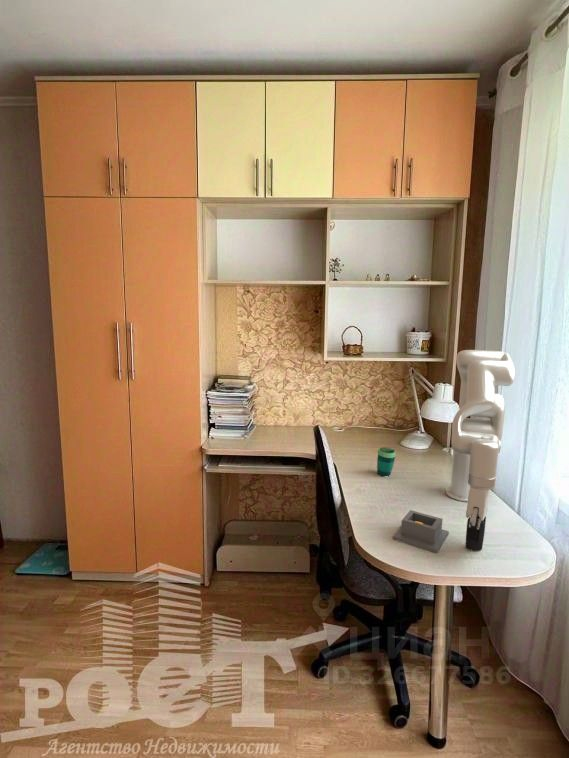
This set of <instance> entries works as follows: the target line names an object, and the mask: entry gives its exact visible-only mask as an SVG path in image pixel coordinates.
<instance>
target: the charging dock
mask: <svg viewBox="0 0 569 758" xmlns="http://www.w3.org/2000/svg"><path fill="white" fill-rule="evenodd" d="M449 534H450V531H449V530H446V529H443V518H441V517H437V516H434V515H431V514H427V513H424V512H419V511H415V510H412V509H410V510H409V511H408V512H407V513H406V515H405V516H404V517H403V518H402V519H401V525H400V527H399V528H398V530H397V531H396V532H395V533H394V534H393V536H392V540H395V541H397V540H398V542H400V541H401V543H403V544H407V545H409V546H414V547H416V548H420V549H422V550H425V551H429V552H432V553H435V554H438V552H439V551H440V549H441V548H442V546H443V545H444V543H445V541H446V540H447V538H448V536H449Z"/></svg>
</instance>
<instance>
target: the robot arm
mask: <svg viewBox="0 0 569 758" xmlns="http://www.w3.org/2000/svg"><path fill="white" fill-rule="evenodd" d="M456 366H457V370H458V372H459V376H460V390H459V401H458V403H459V404H458V408H459V410H458V411H457V412H456V413H455V415H454V417H453V420H452V425H451V440H450V441H451V449H452V451H453V452H452V464H451V475H450V476H451V477H450V486H449V487H447V488H446V489H445V494H446V495H447V496H448V497H449V498H452V499H454V500H457V501H460V502H467V506H466V512H465V517H466V518H467V519H468V518H470V517H471V518H470V523H469V527H468V539H470V540H473V541H477V542H479V538H480V529H479V527H480V522H481V521H483V520H484V522H485V524H486V521H487V516H486V515H487V513H488V509H489V504H490V499H491V498H490V497H491V490H494V489H496V478H497V469H498V461H499V460H498V458H499V457H498V456H499V454H500V453H501V448H502V443H501V441H502V437H503V430H504V421H505V411H506V410H505V409H506V402H505V398H504V396H503V395H502V394H500V393H498V392H497V393H496V389H495V387H496V386H500V387H510V386H511V385H513V383H514V381H515V379H516V376H515V375H516V371H515V364H514V362H513V360H512V358H511V356H510V354H509V353H508V352H505V351H502V350H501V351H500V350H482V349H464V350H461V351H459V352H458V353H457V355H456ZM469 417H473V418H469ZM474 417H476V418H474ZM479 418H480V419H479ZM482 418H487V419H482ZM478 511H479V512H478ZM477 517H479V518H477ZM476 521H478V525H477V522H476Z"/></svg>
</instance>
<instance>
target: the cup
mask: <svg viewBox="0 0 569 758" xmlns="http://www.w3.org/2000/svg"><path fill="white" fill-rule="evenodd" d="M396 457H397V453H396V450H395V449H394V448H392V447H388V446H387V447H386V446H384V447H380V448H379V449H378V450H377V459H376V460H377V463H376V468H377V470H376V472H377V473H376V474H377V475H378V476H379V475H380V476H379V477H382V476H388V477H390V476H391V474H392V471H393V467H394V464H395V459H396ZM389 475H390V476H389Z"/></svg>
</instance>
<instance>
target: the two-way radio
mask: <svg viewBox="0 0 569 758" xmlns="http://www.w3.org/2000/svg"><path fill="white" fill-rule="evenodd" d="M478 512H479V511H478ZM470 518H471V516H470ZM470 518H469V517H468V518H467V523H466V533H465V545H464V547H465V548H466V549H467V550H469V551H475V552H476V551H481V550H482V549H483V544H484V540H485V538H484V537H485V530H486V523H485V522H484V520H483V521H481V522H480V527H479V529H480V538H479V542H477V541H473V540H470V539H468V527H469V523H470ZM477 518H479V517H477ZM476 522H477V525H478V521H476Z"/></svg>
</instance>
